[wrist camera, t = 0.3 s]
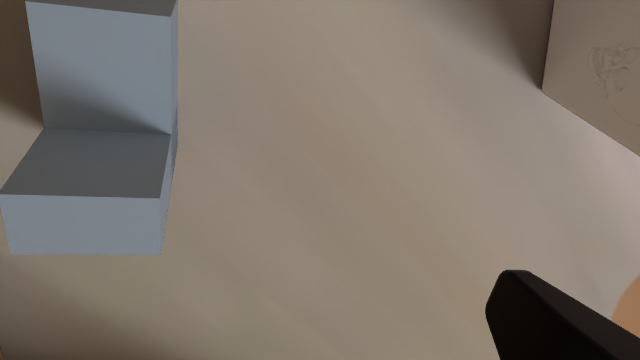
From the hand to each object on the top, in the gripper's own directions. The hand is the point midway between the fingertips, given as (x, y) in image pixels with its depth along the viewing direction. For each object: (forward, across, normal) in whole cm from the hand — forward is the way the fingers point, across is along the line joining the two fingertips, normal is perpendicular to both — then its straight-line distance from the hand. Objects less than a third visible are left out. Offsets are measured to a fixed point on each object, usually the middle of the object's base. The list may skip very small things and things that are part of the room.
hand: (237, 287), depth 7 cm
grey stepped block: (+13, +4, +1) cm, 14 cm away
